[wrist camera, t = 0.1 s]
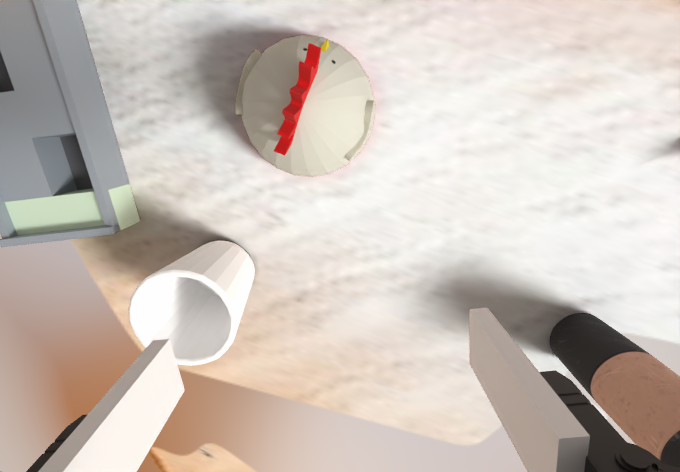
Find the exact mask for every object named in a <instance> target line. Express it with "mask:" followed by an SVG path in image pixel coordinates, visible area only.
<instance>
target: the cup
mask: <svg viewBox="0 0 680 472" xmlns="http://www.w3.org/2000/svg"><path fill="white" fill-rule="evenodd" d="M254 274H255V268H254V265H253V262H252V259H251V257H250V255H249V253H248V252H247V251H246V250H244V249H243V248H241V247H240V246H238V245H237V244H235V243H232V242H228V241H224V240H217V241H213V242H209V243H207V244H205V245H202V246H201V247H199V248H197V249H195V250H194V251H192V252H190V253H188V254H187V255H185V256H183V257H181V258H180V259H178V260H176V261H174V262H172V263H171V264H169V265H167V266H165V267H164V268H162V269H160V270H158V271H157V272H155V273H153V274H151V275H150V276H148V277H146V278H145V279H144V280H143V281H142V282H141V283H140V284H139V285H138V286H137V288H136V289H135V291H134V293H133V295H132V296H131V299H130V305H129V323H130V325H131V327H132V329H133V331H134V334H135V335H136V337H137V338H138V339H139V341H140V342H141V343H142V345H143V346H144V347H146V348H147V347H148V345H149V344H150V343H151V342H152V341H153V340H163V339H170V342H171V345H172V349H173V352H174V355H175V359H176V362H177V364H179V365H192V366H193V365H199V364H205V363H208V362H211V361H213V360H216V359H218V358H219V357H220V356H221V355H223V354H224V353H225V352H226V351H227V350H228V348H229V347H230V345H231V344H232V342H233V341H234V338H235V335H236V332H237V329H238V326H239V323H240V320H241V316H242V313H243V310H244V307H245V304H246V301H247V298H248V295H249V292H250V289H251V286H252V282H253V279H254Z"/></svg>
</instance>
